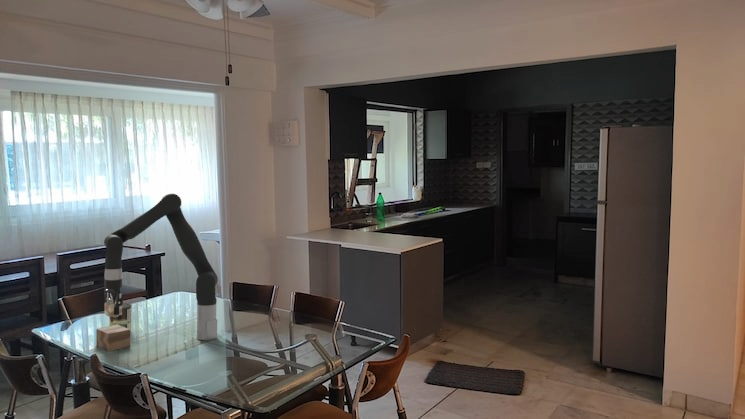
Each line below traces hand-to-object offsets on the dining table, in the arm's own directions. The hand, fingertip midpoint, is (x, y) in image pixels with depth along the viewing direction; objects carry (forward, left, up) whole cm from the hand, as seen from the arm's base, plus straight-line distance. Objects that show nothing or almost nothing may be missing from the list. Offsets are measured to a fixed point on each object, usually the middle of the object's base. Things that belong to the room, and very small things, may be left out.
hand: (113, 313), depth 253 cm
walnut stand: (0, 0, -15) cm, 15 cm away
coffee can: (+17, -12, -16) cm, 26 cm away
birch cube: (0, 0, -1) cm, 1 cm away
